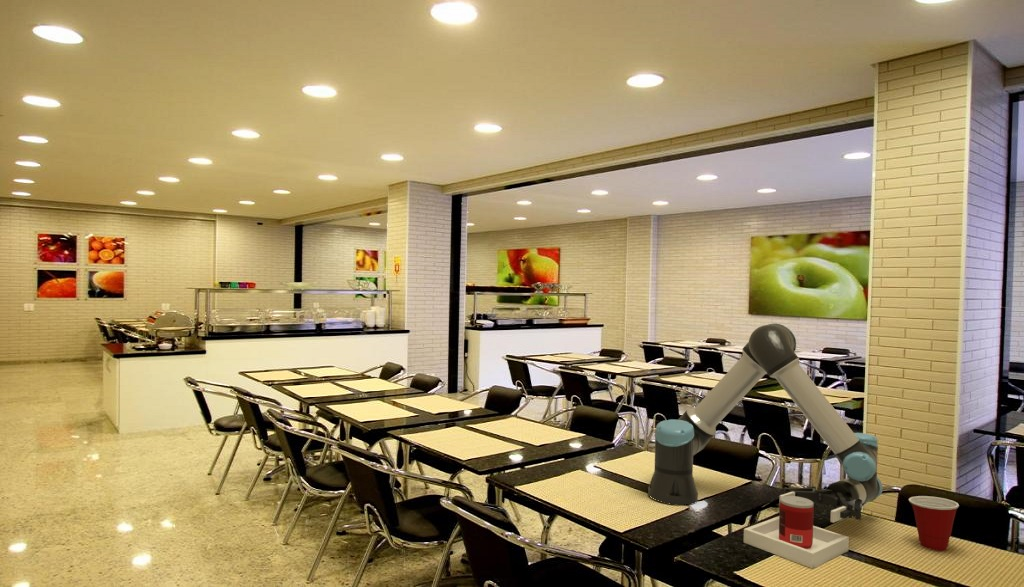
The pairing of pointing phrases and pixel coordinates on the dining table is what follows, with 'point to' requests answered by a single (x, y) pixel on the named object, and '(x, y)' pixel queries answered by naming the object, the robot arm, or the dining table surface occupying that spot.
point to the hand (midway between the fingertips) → (805, 508)
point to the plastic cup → (934, 520)
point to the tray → (819, 553)
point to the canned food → (796, 521)
